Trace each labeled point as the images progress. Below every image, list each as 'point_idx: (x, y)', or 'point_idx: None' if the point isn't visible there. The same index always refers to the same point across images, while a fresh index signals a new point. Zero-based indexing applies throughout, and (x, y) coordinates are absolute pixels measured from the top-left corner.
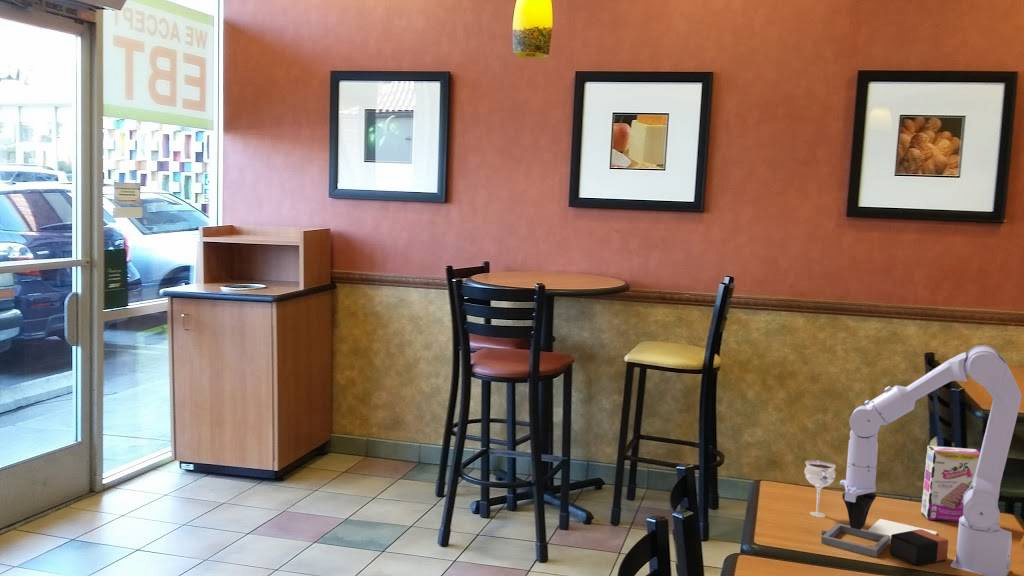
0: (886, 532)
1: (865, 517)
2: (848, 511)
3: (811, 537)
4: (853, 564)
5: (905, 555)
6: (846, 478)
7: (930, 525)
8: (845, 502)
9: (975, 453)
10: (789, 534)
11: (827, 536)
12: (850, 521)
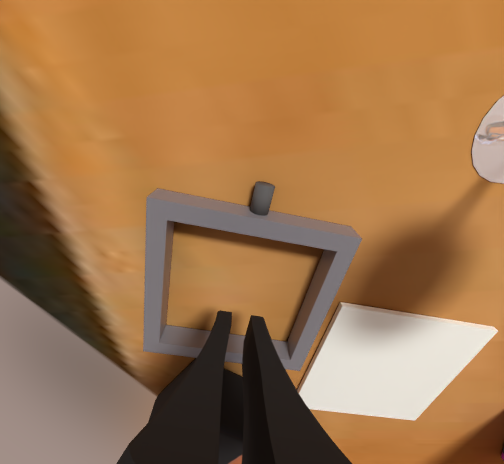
0: (367, 348)
1: (243, 389)
2: (190, 370)
3: (208, 144)
4: (45, 291)
5: (167, 394)
6: None
7: (471, 406)
8: (151, 423)
9: None
10: (184, 30)
11: (167, 218)
12: (212, 330)
